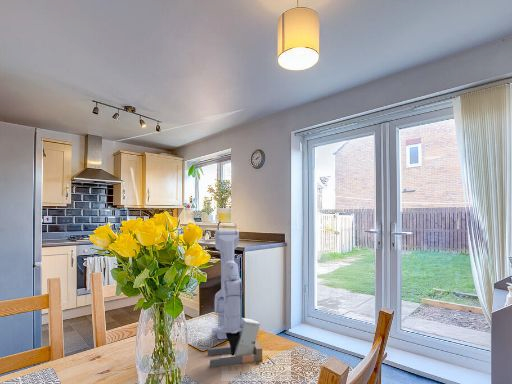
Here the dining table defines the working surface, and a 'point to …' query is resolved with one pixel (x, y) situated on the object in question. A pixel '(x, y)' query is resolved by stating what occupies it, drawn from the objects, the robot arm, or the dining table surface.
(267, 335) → the dining table surface
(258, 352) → the guide channel
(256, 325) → the skincare box
